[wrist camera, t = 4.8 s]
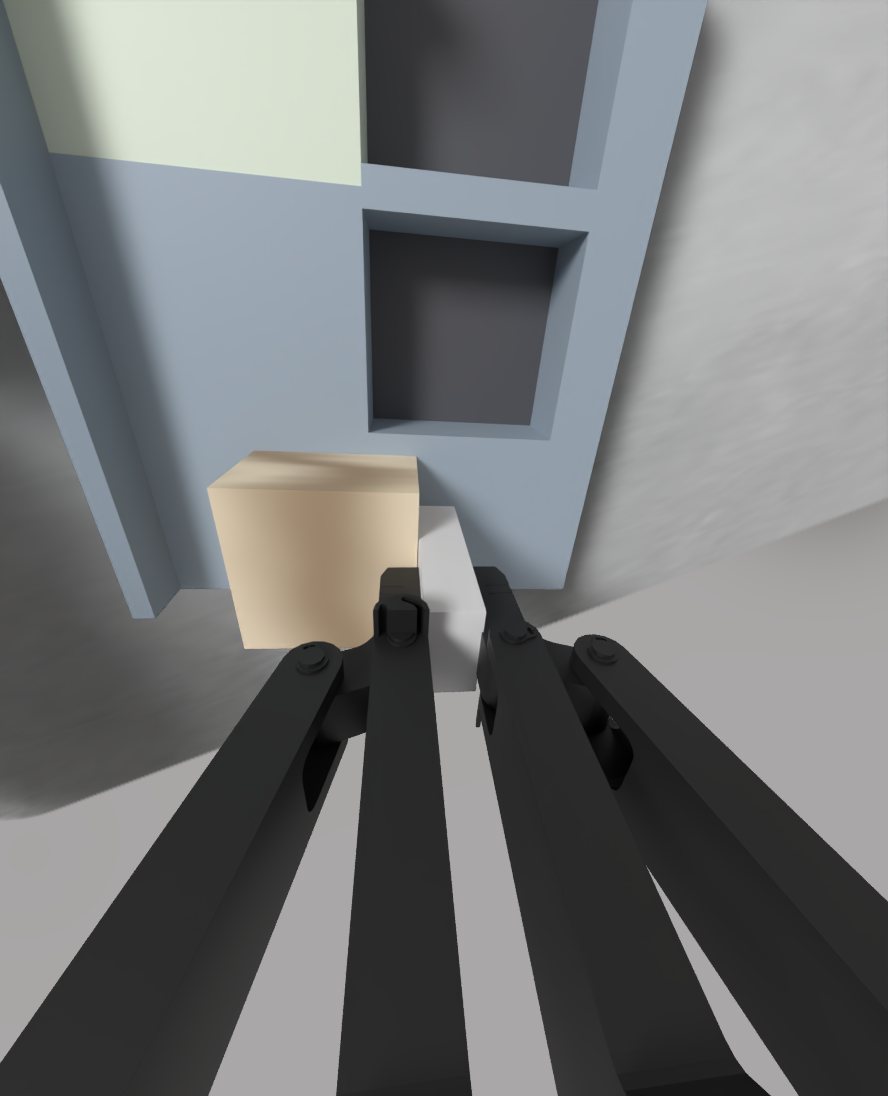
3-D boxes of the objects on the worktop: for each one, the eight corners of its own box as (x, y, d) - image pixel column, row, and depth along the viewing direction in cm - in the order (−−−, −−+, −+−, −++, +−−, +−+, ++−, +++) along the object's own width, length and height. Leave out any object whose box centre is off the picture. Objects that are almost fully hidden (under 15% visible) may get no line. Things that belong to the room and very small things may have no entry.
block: (276, 585, 18) (244, 648, 14) (253, 450, 15) (206, 487, 11) (412, 585, 18) (414, 646, 15) (416, 456, 15) (419, 493, 12)
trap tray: (192, 554, 20) (133, 618, 15) (-11, -190, 10) (-346, -610, 5) (543, 557, 22) (579, 615, 17) (672, -60, 12) (831, -290, 7)
